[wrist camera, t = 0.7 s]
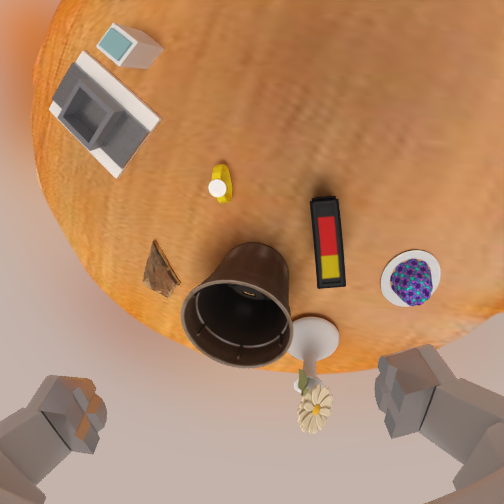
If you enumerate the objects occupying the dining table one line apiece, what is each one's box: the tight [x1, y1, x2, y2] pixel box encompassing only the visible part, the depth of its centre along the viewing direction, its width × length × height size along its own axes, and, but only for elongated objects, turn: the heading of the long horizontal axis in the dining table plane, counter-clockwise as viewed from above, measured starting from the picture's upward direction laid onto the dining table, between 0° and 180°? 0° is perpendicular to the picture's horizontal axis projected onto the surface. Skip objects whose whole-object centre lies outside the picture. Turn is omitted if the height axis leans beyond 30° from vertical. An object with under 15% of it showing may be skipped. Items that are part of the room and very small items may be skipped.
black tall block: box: [310, 196, 346, 289], centre depth 47 cm, size 4×13×15 cm, turn 11°
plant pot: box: [181, 243, 294, 368], centre depth 51 cm, size 16×16×16 cm
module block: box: [96, 23, 164, 69], centre depth 39 cm, size 4×6×10 cm
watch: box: [208, 164, 233, 203], centre depth 49 cm, size 6×3×6 cm, turn 10°
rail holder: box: [49, 51, 162, 179], centre depth 47 cm, size 14×22×5 cm, turn 46°
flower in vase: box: [287, 317, 340, 434], centre depth 51 cm, size 13×11×25 cm
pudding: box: [381, 250, 441, 307], centre depth 51 cm, size 12×12×5 cm
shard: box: [143, 241, 180, 298], centre depth 61 cm, size 11×8×2 cm
